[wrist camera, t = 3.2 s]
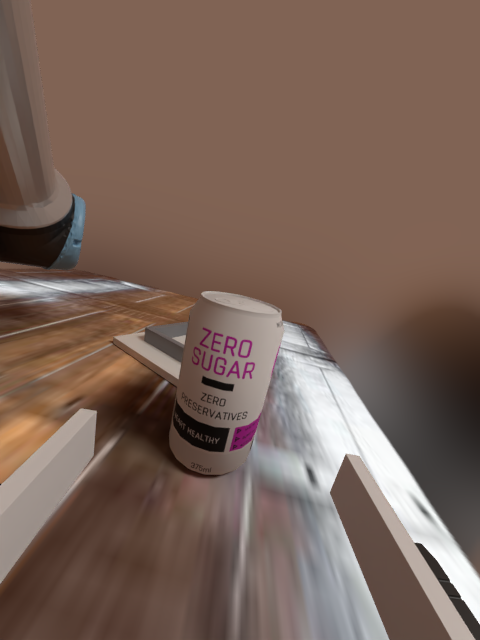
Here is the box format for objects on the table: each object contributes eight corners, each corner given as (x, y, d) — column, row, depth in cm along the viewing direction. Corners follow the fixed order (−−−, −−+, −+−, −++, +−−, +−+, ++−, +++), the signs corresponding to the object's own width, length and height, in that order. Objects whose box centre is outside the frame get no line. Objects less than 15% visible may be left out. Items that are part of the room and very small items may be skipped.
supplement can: (234, 414, 28) (263, 298, 25) (261, 474, 21) (308, 321, 17) (166, 417, 25) (188, 285, 22) (170, 489, 18) (204, 307, 14)
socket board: (112, 343, 39) (114, 323, 38) (194, 328, 56) (197, 314, 55) (195, 399, 29) (200, 374, 29) (265, 361, 46) (269, 345, 45)
